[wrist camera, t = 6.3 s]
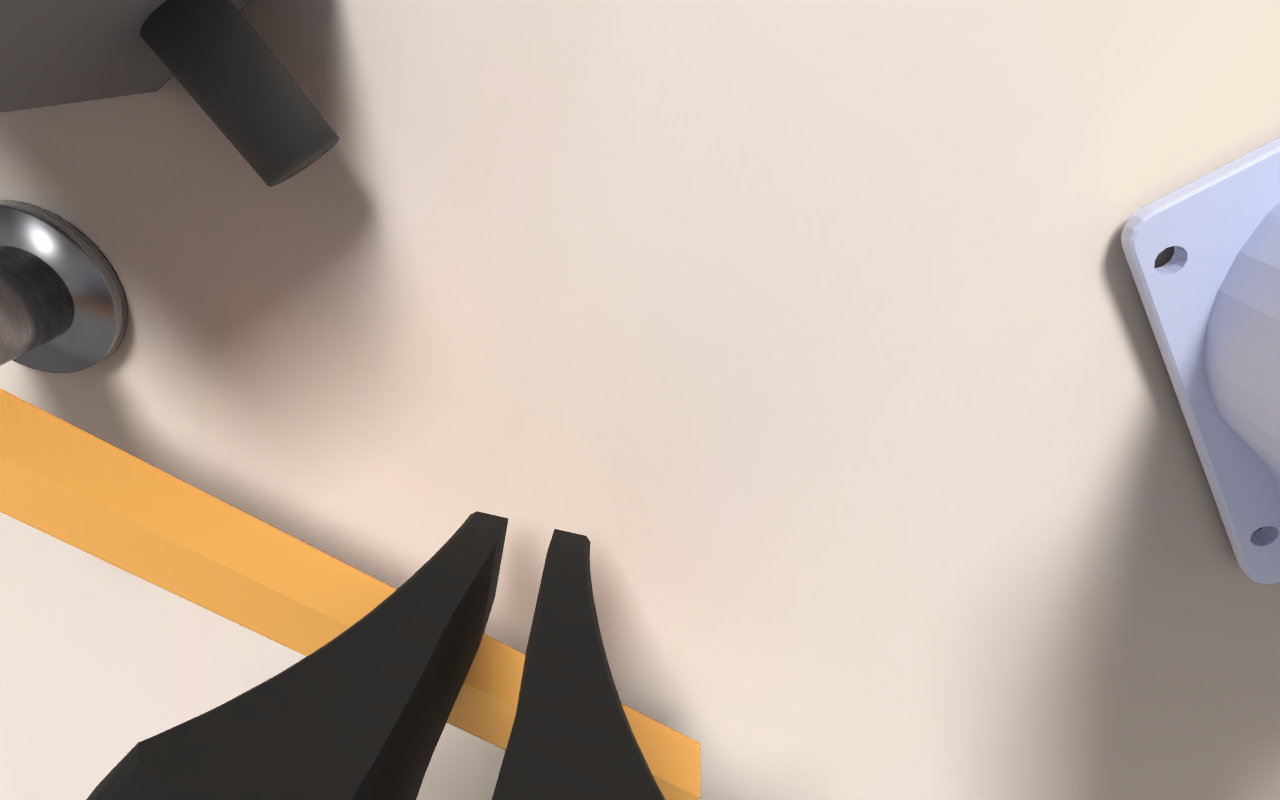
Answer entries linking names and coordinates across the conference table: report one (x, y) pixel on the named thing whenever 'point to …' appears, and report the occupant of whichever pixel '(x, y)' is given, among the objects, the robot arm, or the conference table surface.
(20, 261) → the lever handle base
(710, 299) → the conference table surface
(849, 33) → the conference table surface
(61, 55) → the plug
